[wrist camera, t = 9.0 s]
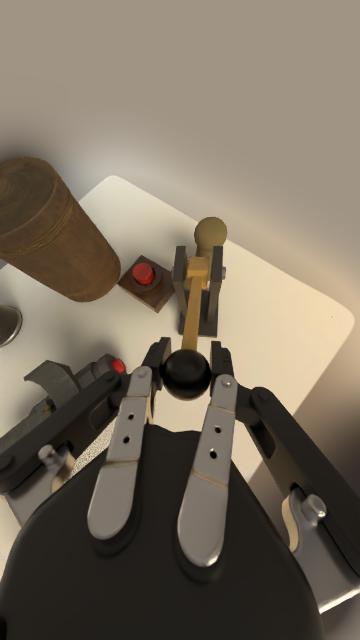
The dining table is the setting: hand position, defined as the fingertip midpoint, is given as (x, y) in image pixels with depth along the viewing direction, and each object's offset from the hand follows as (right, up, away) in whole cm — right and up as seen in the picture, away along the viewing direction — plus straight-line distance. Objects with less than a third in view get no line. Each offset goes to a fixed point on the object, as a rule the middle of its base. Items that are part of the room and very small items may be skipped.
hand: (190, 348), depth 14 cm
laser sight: (-19, -13, +17) cm, 29 cm away
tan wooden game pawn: (+5, +13, +22) cm, 26 cm away
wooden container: (-22, +13, +25) cm, 36 cm away
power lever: (+1, +2, +3) cm, 3 cm away
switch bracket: (+3, +4, +19) cm, 19 cm away
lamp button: (-8, +11, +18) cm, 22 cm away
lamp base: (-7, +10, +22) cm, 25 cm away
